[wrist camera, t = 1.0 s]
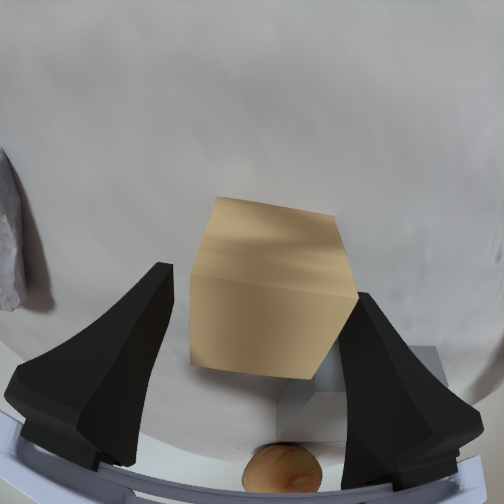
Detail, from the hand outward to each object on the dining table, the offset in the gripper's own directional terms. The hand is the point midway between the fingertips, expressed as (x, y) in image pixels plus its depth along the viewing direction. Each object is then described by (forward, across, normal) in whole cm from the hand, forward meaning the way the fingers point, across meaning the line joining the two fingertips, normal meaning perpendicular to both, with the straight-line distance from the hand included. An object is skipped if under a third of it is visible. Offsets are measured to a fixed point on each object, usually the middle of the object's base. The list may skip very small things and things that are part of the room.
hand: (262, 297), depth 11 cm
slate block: (+3, -9, +11) cm, 15 cm away
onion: (+3, -8, +30) cm, 31 cm away
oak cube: (+3, 0, 0) cm, 3 cm away
